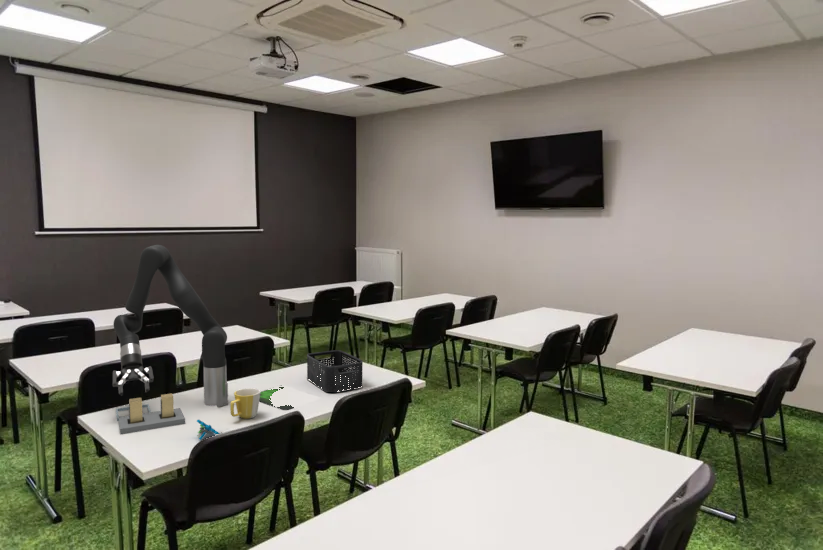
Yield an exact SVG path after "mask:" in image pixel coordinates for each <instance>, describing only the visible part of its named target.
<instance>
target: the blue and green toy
mask: <svg viewBox="0 0 823 550" xmlns="http://www.w3.org/2000/svg"><path fill="white" fill-rule="evenodd" d="M196 422H197V423H198V424H200V425H199V426H200V427H199V431H198V432H197V435H196V436H197V437H198V436H199V434H201V433H202V432H203V433H202V434H201V435H200V436H199V438H198V440H199V441H202V440H203V438H204V437H205V436H206V434H208V433H209V432H211V433H213V434H214V435H216V434H221V433H220V432H219V431H217V430H216V429H215V428H213V427H212V425H211V424H206V423H205V422H204V421H202V420H200V419H197V420H196Z"/></svg>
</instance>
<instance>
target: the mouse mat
mask: <svg viewBox="0 0 823 550" xmlns="http://www.w3.org/2000/svg"><path fill="white" fill-rule="evenodd" d="M279 388H281V389H283V388H284V387H279ZM270 389H271V388H270ZM279 390H280V389H279ZM260 391H261V390H260ZM276 391H278V389H273V390H272V389H271V390H268V389H264V390H262V391H261V392H260V399H259V403H261V404H264V405H267V406H270V405H271V406H270V407H273V404H271V403H272V402H271V401H270V400H271V398H270V396H272V394H273V393H274V392H276ZM269 399H270V400H269ZM273 408H276V407H275V406H274V407H273ZM279 408H280V410H282V411H291V410H293V409H295V408H294V407H292V406H291V405H290V406H289V405H288V406H287V405H285V406H280V407H277V408H276V409H279Z"/></svg>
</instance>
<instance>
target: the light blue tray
mask: <svg viewBox="0 0 823 550" xmlns="http://www.w3.org/2000/svg"><path fill="white" fill-rule="evenodd" d="M143 408H147V413H150V412H152V411H151V408H150V404H149V403H146V404H142V409H143ZM121 411H123V412H124V411H129V406H125V407H117V408H115V415H116V421H117V422H119V417H120V416H119V412H121Z"/></svg>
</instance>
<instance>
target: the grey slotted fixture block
mask: <svg viewBox="0 0 823 550" xmlns="http://www.w3.org/2000/svg"><path fill="white" fill-rule="evenodd" d="M142 420H143V422H139V423H133V424H130V420H129V415H125V416H119V421H118V426H119V433H120V435H125V434H132V433H138V432H143V431H148V430H157V429H162V428H167V427H174V426H179V425H185V424H186V417H185V415H184V412H183V411H182V409H181V407H178V408H177V407H176V408H174V417H171V418H164V419H161V410H158V411H151V412H150V413H149V412H142Z"/></svg>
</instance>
